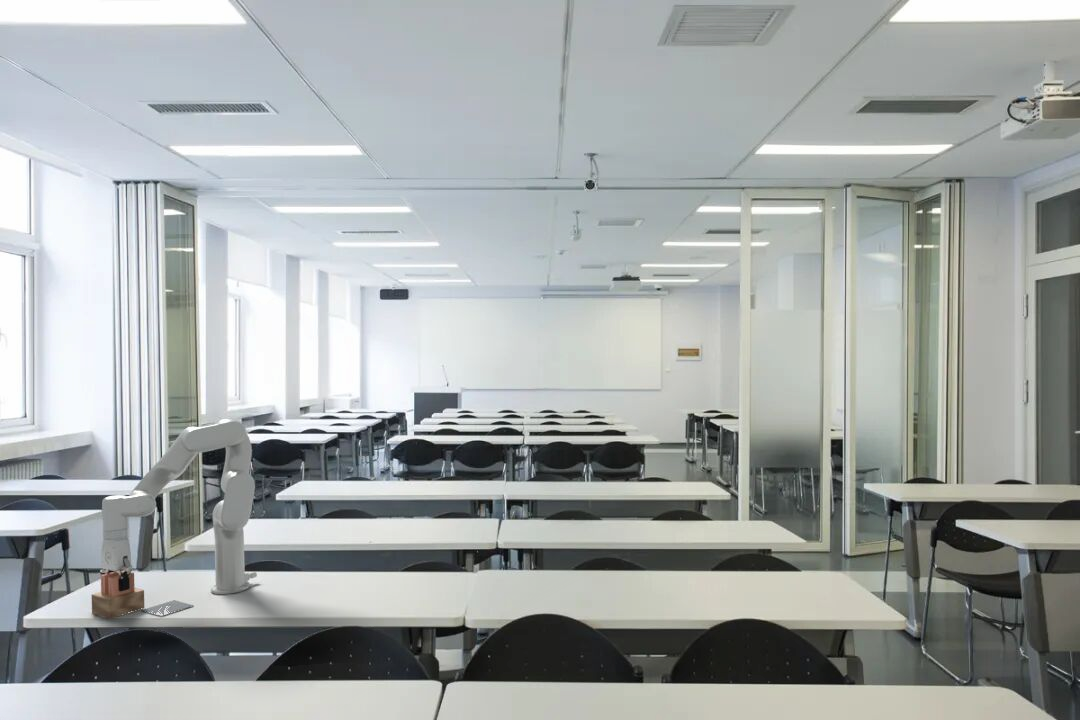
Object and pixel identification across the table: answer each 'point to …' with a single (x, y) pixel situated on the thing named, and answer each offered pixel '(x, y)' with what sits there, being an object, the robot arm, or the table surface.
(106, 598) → the stand
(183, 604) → the mat
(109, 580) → the c link
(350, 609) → the table surface
